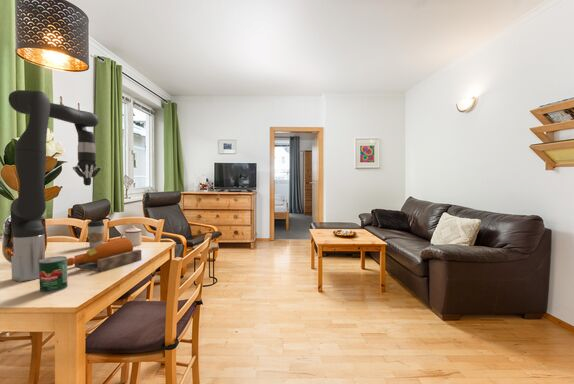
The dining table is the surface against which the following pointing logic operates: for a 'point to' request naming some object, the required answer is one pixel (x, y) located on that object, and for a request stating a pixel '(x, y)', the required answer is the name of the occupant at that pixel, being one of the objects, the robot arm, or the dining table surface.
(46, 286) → the canned tomato
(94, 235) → the coffee cup
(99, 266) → the u rest
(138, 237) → the teacup with lid
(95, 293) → the dining table surface
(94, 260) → the wine bottle
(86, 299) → the dining table surface
